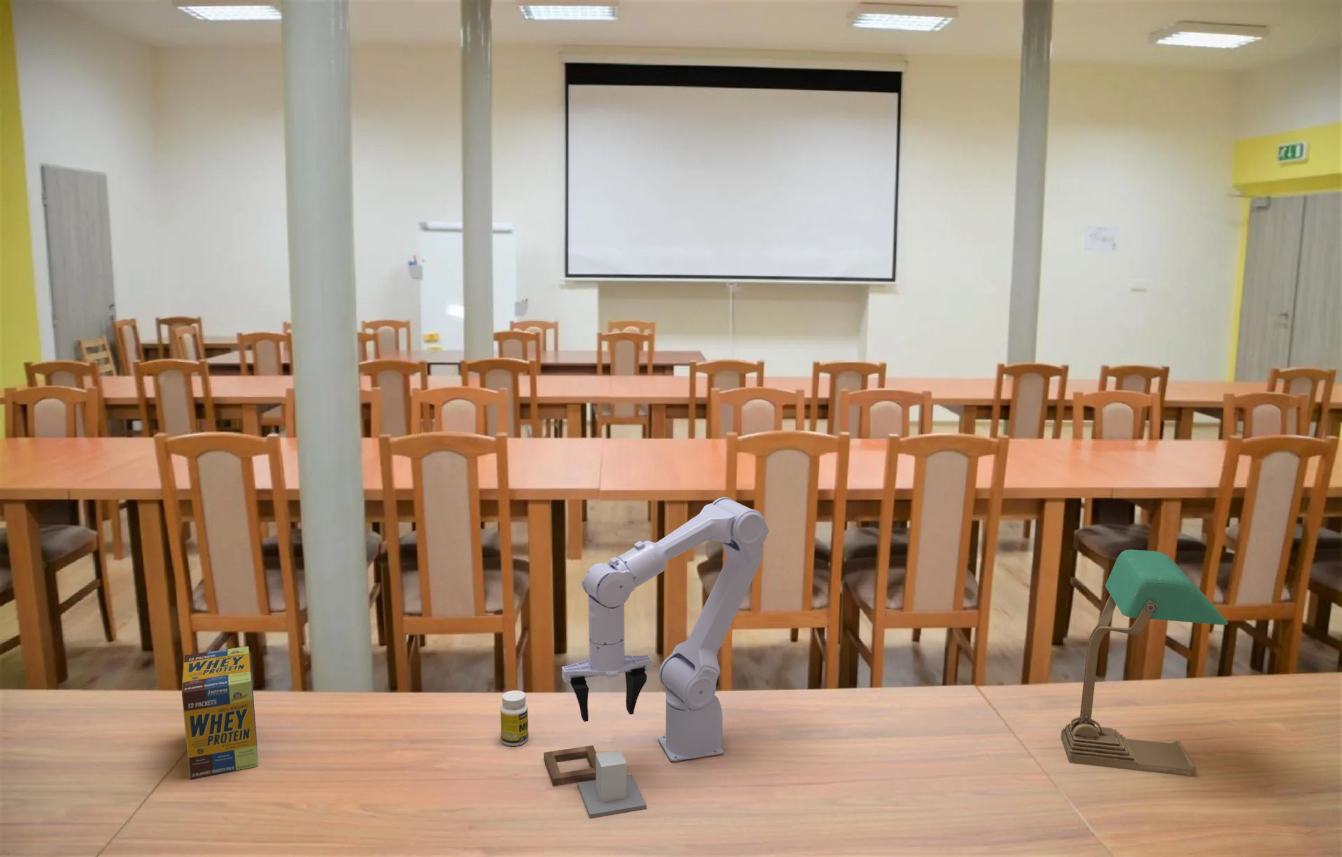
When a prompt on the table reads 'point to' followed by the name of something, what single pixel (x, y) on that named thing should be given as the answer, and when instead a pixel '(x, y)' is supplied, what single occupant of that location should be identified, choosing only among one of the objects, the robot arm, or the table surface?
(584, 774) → the holder
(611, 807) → the coaster
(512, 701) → the supplement bottle
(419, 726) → the table surface
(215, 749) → the protein box
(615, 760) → the block
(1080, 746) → the banker's lamp
